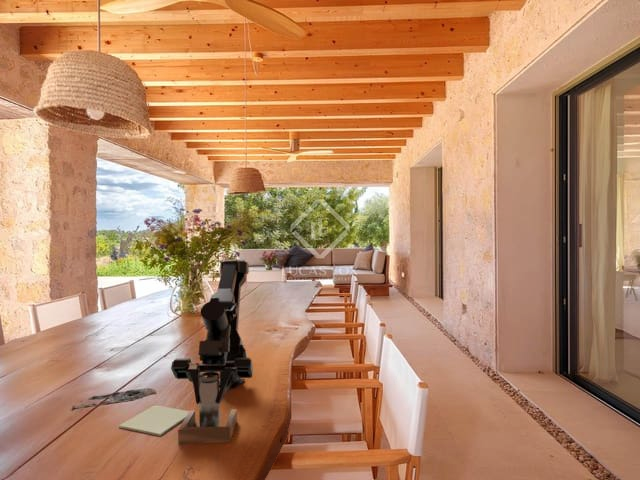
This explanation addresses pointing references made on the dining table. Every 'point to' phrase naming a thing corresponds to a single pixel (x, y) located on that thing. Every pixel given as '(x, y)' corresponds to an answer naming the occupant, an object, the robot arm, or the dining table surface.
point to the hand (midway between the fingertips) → (208, 403)
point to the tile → (155, 420)
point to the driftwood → (121, 396)
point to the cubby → (206, 430)
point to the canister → (209, 399)
